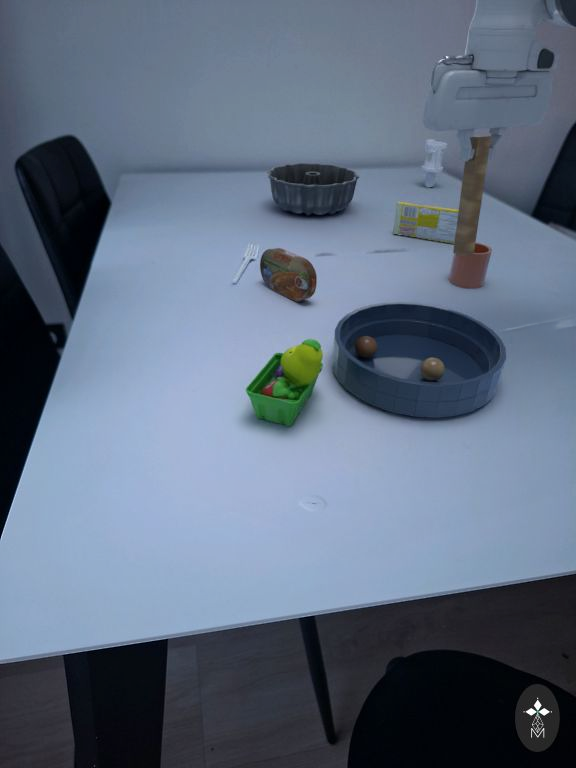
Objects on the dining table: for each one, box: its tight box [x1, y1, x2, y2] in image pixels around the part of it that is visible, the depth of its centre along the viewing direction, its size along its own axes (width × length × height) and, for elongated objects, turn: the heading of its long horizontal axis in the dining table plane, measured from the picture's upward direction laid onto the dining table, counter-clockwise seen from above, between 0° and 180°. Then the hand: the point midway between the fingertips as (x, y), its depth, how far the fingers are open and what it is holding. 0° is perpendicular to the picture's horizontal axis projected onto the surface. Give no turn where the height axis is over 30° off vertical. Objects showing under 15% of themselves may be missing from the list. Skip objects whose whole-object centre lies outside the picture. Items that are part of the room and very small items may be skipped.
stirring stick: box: [452, 134, 491, 256], centre depth 85 cm, size 2×2×18 cm
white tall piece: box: [420, 138, 448, 187], centre depth 178 cm, size 7×7×15 cm
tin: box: [259, 247, 318, 303], centre depth 106 cm, size 15×3×8 cm, turn 40°
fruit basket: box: [245, 338, 324, 427], centre depth 73 cm, size 11×9×11 cm
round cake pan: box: [331, 301, 507, 418], centre depth 83 cm, size 26×26×6 cm
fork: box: [232, 243, 260, 284], centre depth 119 cm, size 3×20×2 cm, turn 171°
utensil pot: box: [448, 242, 493, 290], centre depth 112 cm, size 7×7×8 cm
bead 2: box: [420, 357, 445, 381], centre depth 81 cm, size 4×4×4 cm
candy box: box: [392, 201, 459, 245], centre depth 136 cm, size 16×2×8 cm, turn 65°
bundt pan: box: [267, 162, 360, 217], centre depth 156 cm, size 26×26×10 cm
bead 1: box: [355, 336, 377, 358], centre depth 86 cm, size 4×4×4 cm
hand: (476, 159), depth 82 cm, fingers closed on stirring stick, 2 cm apart
